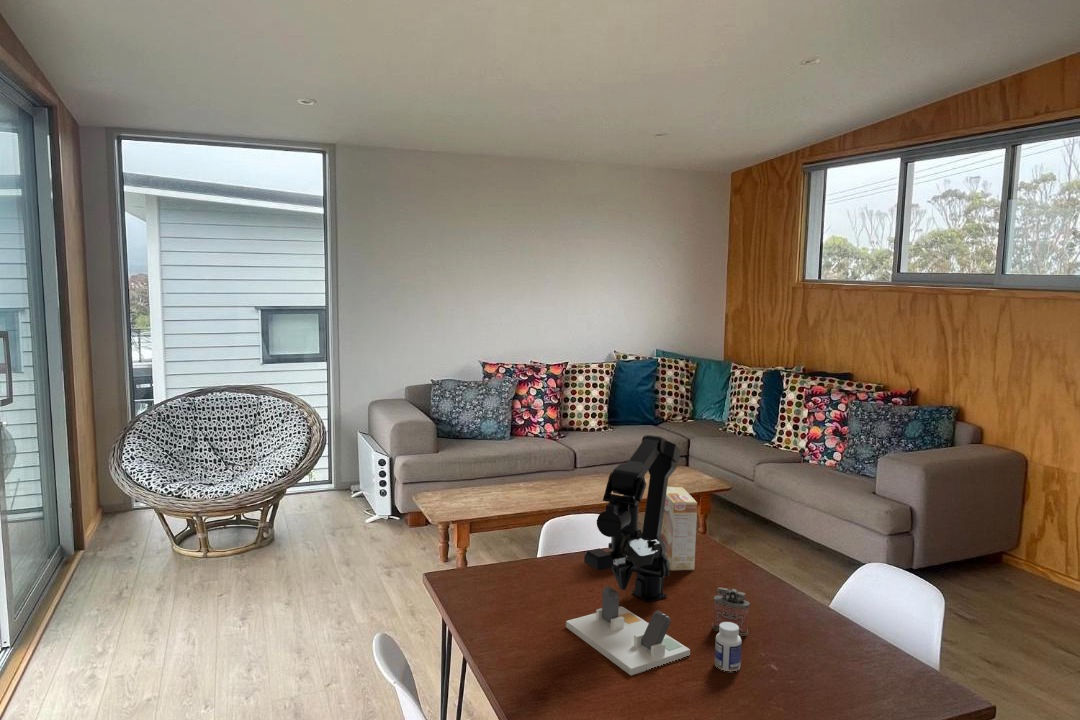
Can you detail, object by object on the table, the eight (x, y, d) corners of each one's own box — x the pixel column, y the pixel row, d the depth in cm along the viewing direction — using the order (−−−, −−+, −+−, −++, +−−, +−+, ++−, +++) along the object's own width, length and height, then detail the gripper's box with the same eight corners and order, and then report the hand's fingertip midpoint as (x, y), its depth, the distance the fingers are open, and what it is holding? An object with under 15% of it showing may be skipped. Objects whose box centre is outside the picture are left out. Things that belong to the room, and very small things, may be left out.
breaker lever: (607, 617, 175) (608, 584, 174) (618, 625, 171) (620, 591, 170) (601, 619, 174) (602, 585, 173) (612, 627, 170) (613, 593, 170)
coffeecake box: (656, 550, 223) (659, 486, 221) (680, 550, 224) (683, 486, 221) (669, 570, 208) (672, 502, 206) (695, 570, 209) (698, 501, 207)
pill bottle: (741, 662, 160) (743, 622, 159) (739, 675, 155) (741, 634, 154) (715, 658, 161) (717, 618, 160) (712, 670, 156) (715, 629, 155)
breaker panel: (621, 612, 182) (622, 576, 181) (689, 656, 162) (691, 616, 161) (566, 627, 174) (567, 589, 173) (630, 675, 154) (632, 633, 153)
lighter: (749, 632, 173) (751, 590, 172) (746, 638, 170) (749, 596, 169) (714, 624, 177) (716, 583, 176) (710, 630, 174) (713, 589, 173)
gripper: (614, 541, 160) (611, 611, 162) (680, 527, 170) (677, 594, 172) (583, 526, 170) (581, 592, 171) (648, 513, 179) (645, 577, 181)
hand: (622, 589), depth 174 cm, fingers closed
